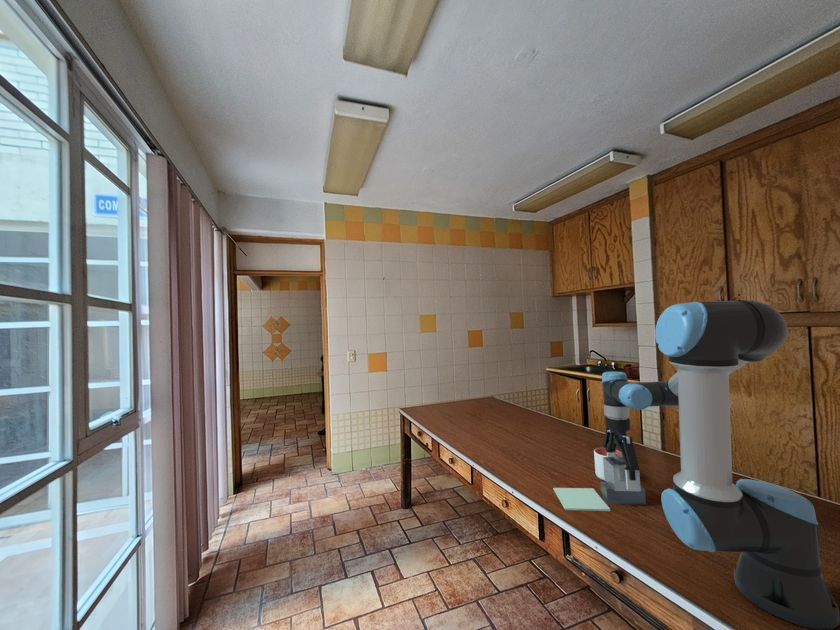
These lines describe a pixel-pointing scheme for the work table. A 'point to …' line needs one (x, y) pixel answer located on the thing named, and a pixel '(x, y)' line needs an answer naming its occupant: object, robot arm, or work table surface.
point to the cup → (600, 461)
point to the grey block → (622, 496)
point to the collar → (617, 475)
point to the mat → (580, 499)
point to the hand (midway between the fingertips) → (621, 479)
